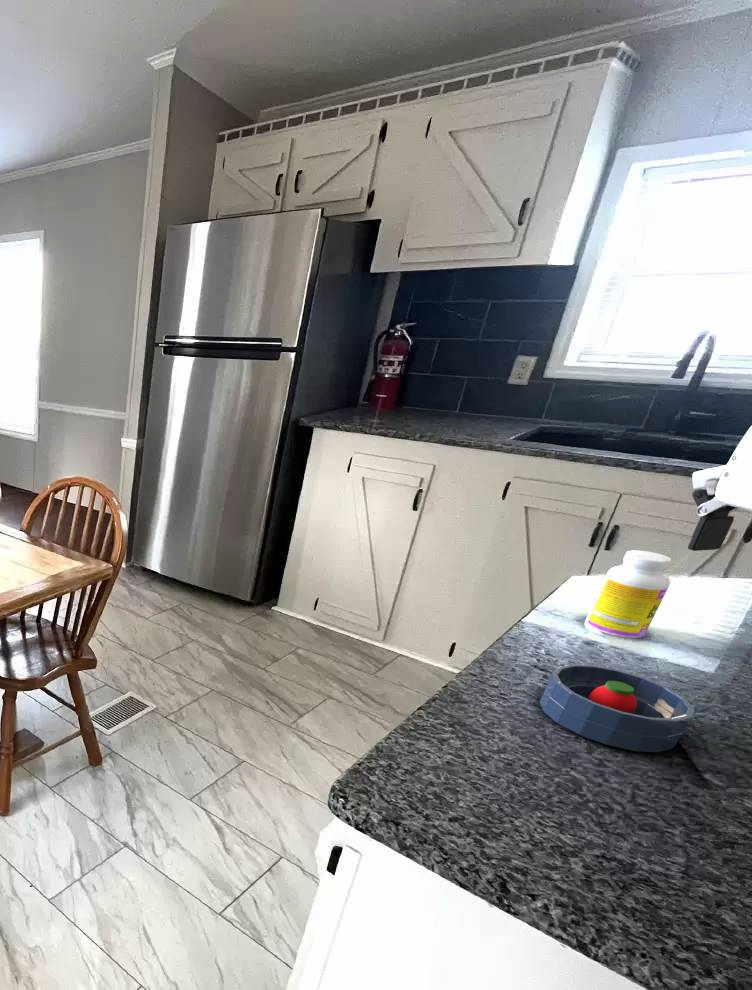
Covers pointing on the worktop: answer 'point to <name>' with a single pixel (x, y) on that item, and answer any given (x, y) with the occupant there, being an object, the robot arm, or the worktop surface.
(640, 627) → the supplement bottle
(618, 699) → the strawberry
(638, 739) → the bowl
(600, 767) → the worktop surface
